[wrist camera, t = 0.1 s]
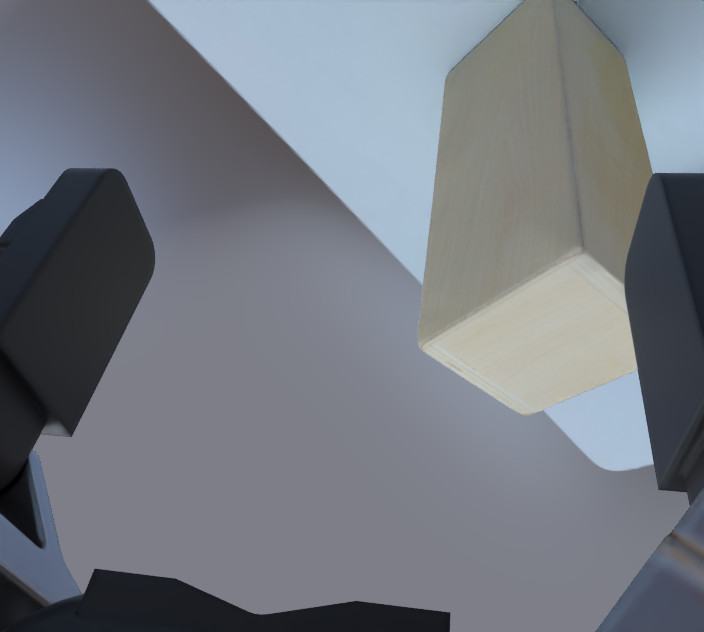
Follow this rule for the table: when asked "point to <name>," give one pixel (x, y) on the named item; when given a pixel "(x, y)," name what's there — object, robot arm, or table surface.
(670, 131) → the table surface
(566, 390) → the toy refrigerator
